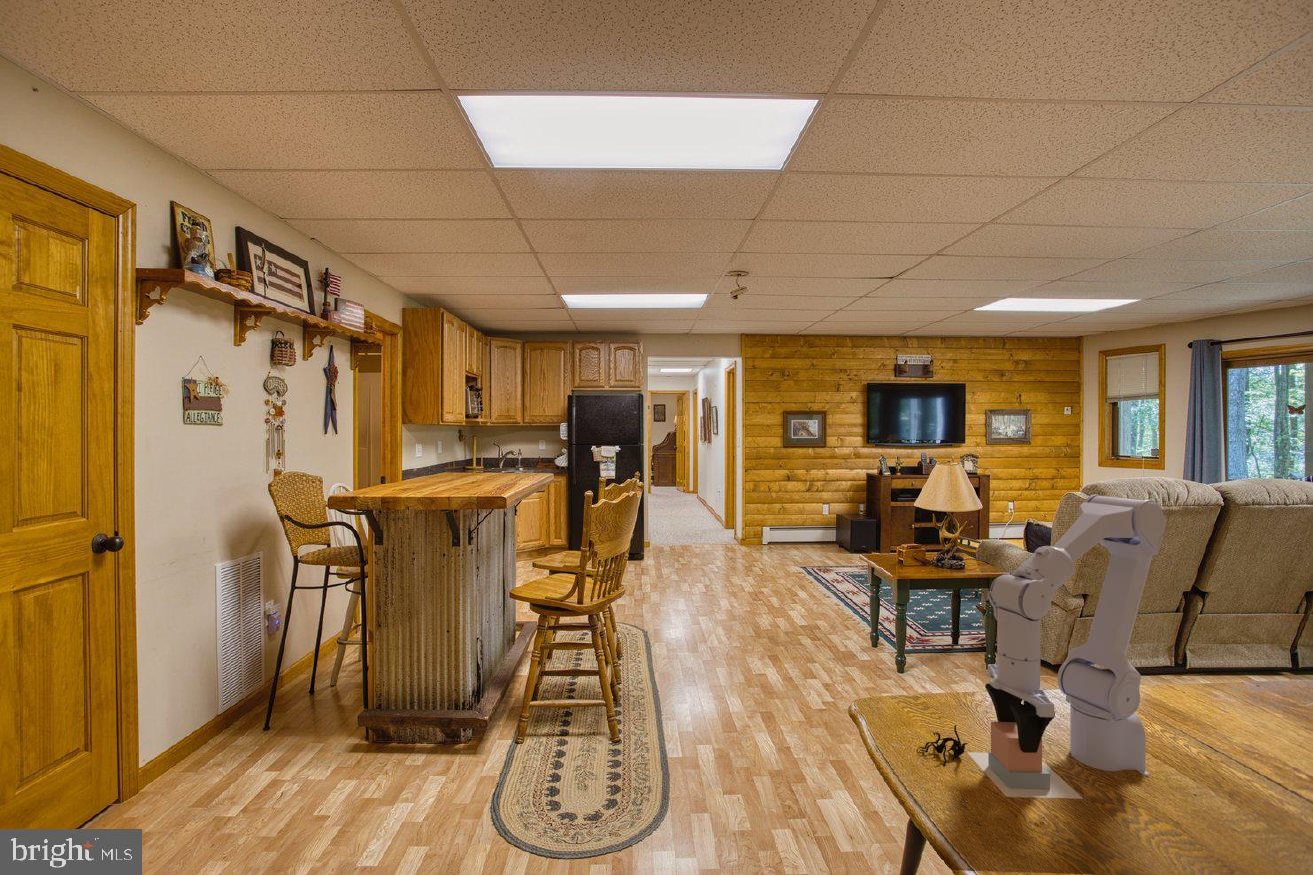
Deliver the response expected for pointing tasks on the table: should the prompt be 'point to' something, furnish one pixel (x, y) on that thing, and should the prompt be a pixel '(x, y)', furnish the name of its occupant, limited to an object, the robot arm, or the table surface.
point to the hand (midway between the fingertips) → (1018, 741)
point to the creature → (957, 746)
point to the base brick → (1019, 776)
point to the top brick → (1013, 749)
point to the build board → (1056, 789)
